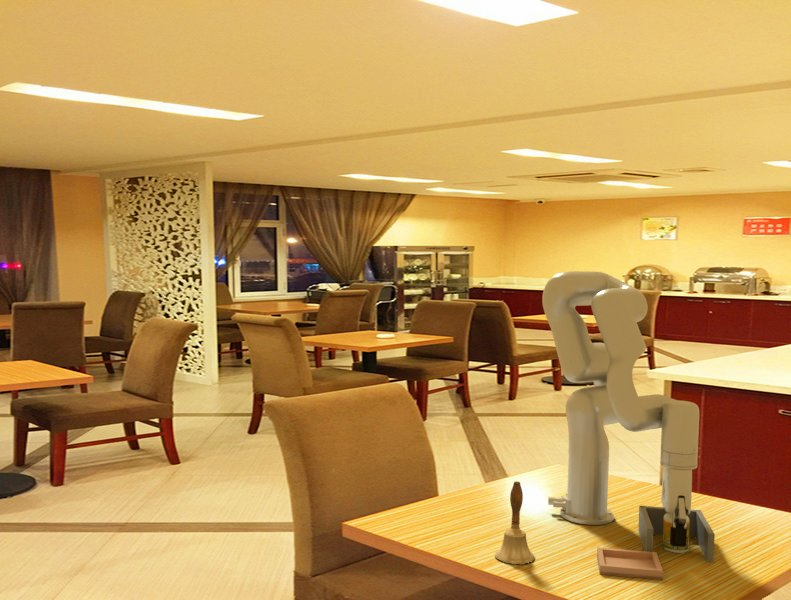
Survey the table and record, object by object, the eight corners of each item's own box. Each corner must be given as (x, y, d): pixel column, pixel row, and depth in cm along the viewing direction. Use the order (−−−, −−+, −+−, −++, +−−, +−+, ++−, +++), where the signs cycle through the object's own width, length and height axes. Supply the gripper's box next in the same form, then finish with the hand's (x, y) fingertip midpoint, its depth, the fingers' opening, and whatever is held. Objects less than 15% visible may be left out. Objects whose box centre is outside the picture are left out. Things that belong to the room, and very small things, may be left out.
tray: (599, 574, 157) (600, 565, 156) (596, 555, 166) (597, 547, 166) (662, 580, 154) (663, 571, 154) (656, 560, 164) (656, 552, 164)
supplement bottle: (679, 543, 174) (681, 501, 174) (693, 552, 169) (695, 508, 168) (657, 545, 173) (659, 502, 172) (671, 554, 168) (672, 510, 167)
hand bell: (492, 549, 169) (494, 476, 168) (531, 550, 169) (533, 477, 168) (496, 564, 161) (498, 487, 160) (537, 565, 160) (539, 488, 160)
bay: (646, 556, 166) (647, 528, 166) (638, 531, 182) (639, 505, 181) (713, 562, 164) (714, 534, 163) (699, 536, 179) (700, 510, 179)
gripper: (655, 448, 179) (652, 526, 180) (666, 467, 162) (663, 553, 163) (690, 450, 177) (687, 528, 179) (704, 470, 161) (701, 557, 162)
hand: (675, 539), depth 171 cm, fingers closed on supplement bottle, 5 cm apart
